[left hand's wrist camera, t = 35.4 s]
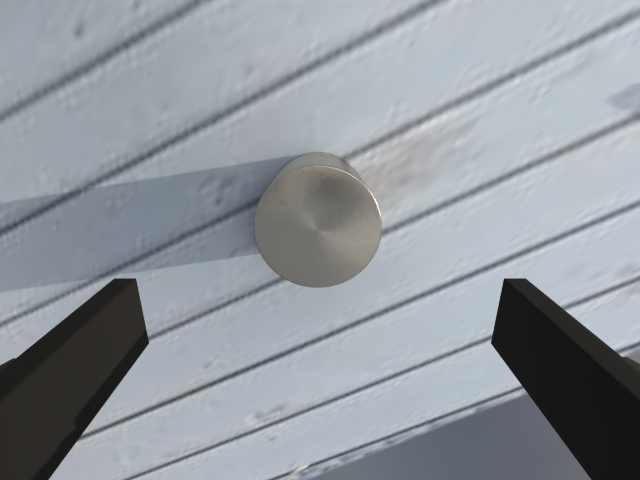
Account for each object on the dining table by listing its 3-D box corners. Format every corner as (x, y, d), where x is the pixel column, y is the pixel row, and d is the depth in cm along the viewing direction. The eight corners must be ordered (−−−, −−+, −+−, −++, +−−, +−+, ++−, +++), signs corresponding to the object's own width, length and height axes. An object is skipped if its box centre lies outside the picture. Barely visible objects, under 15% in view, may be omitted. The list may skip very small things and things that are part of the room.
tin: (251, 198, 32) (226, 227, 24) (319, 130, 30) (320, 135, 22) (316, 261, 34) (315, 310, 26) (384, 202, 32) (408, 232, 24)
